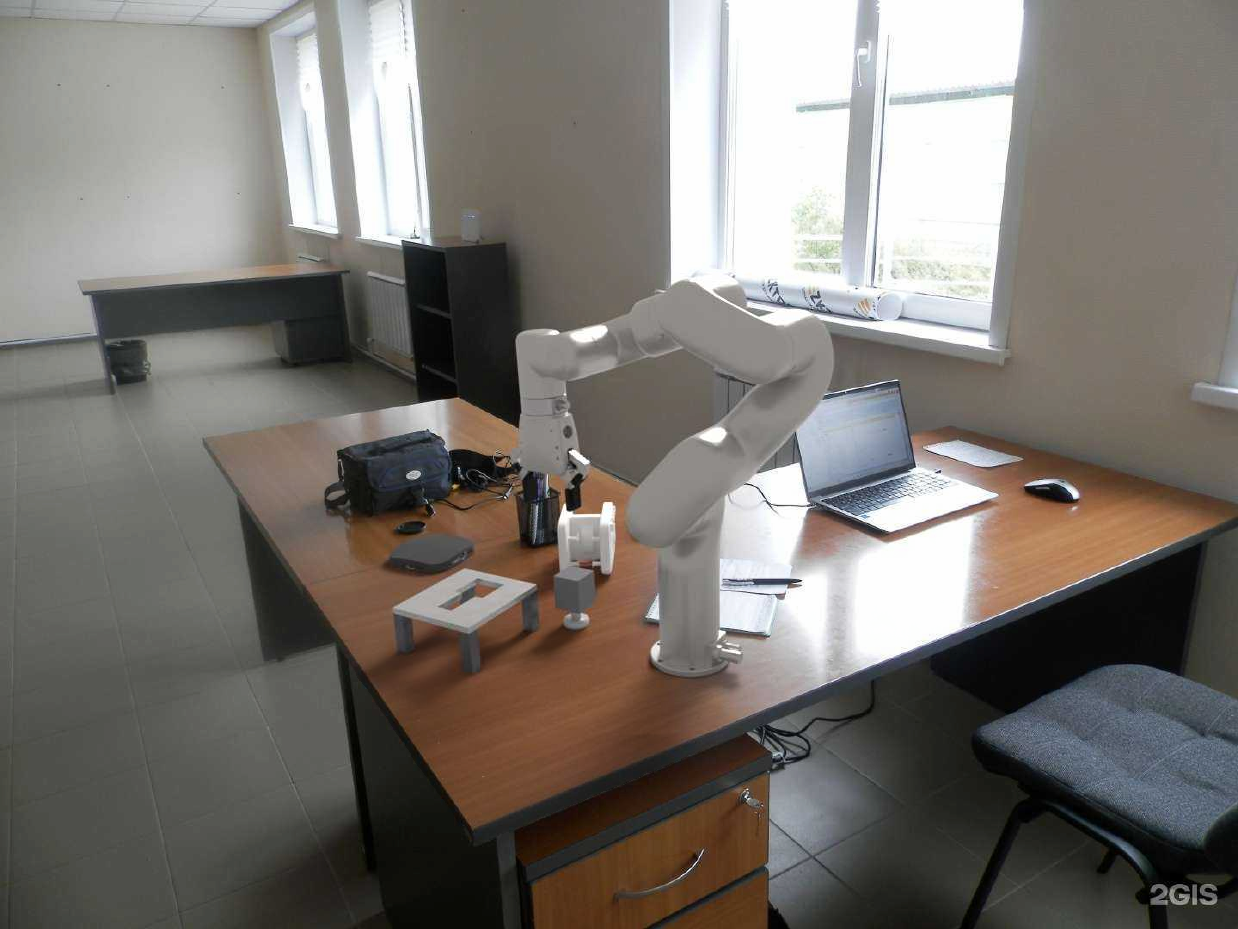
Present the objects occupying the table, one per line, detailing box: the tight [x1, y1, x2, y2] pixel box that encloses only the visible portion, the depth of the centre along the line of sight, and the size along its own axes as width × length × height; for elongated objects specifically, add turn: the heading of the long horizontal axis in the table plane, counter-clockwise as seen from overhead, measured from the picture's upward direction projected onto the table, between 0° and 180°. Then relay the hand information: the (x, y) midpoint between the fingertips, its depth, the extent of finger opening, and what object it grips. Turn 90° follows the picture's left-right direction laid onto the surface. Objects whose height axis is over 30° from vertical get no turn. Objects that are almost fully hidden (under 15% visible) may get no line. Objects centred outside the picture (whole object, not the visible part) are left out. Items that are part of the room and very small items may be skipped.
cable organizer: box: [557, 501, 617, 576], centre depth 179 cm, size 15×11×12 cm
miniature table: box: [392, 568, 541, 675], centre depth 151 cm, size 16×18×8 cm
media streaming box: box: [389, 533, 475, 574], centre depth 187 cm, size 15×15×3 cm
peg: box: [553, 566, 596, 631], centre depth 154 cm, size 5×5×10 cm
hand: (552, 504), depth 151 cm, fingers open, 9 cm apart
